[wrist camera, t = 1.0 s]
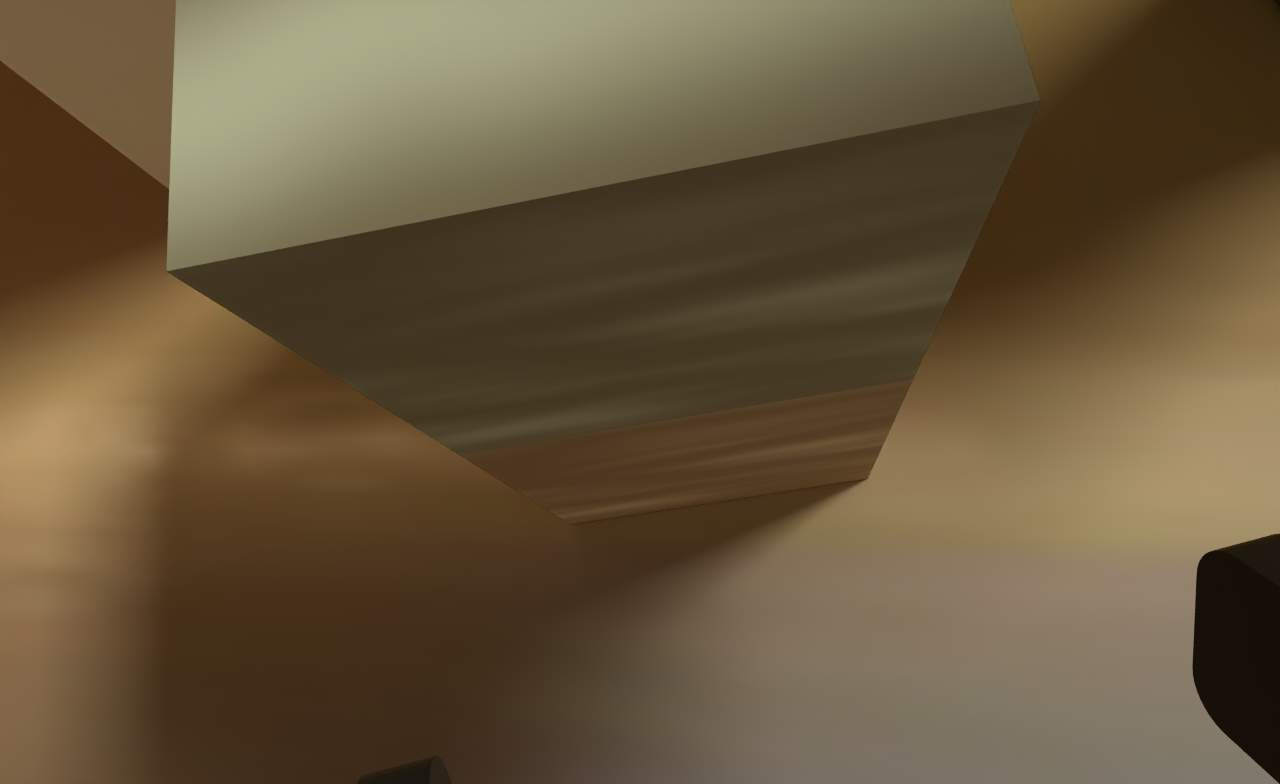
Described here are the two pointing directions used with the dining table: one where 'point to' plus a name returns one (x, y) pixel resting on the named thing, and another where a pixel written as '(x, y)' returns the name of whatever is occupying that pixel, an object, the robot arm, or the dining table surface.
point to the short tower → (600, 220)
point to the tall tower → (101, 67)
